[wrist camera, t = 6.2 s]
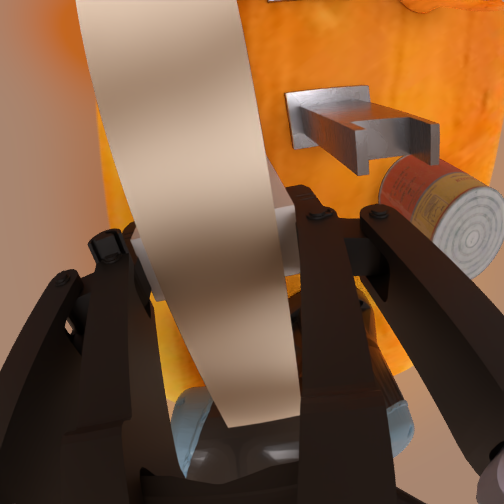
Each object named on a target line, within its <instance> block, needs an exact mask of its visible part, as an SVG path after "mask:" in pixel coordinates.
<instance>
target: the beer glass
mask: <svg viewBox="0 0 504 504" xmlns="http://www.w3.org/2000/svg"><path fill="white" fill-rule="evenodd" d="M400 2H401V3H402V4H403V5H404V6H406V7H407V8H408V9H410V10H412V11H414V12H417V13H427V12H430V11H432V10H434V9H436V8H439V7H447V8H454V9H461V10H468V11H500V10H504V0H400Z"/></svg>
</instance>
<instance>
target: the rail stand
mask: <svg viewBox="0 0 504 504" xmlns="http://www.w3.org/2000/svg"><path fill="white" fill-rule="evenodd" d="M281 1H295V0H267V2H268V3H270V2H281ZM284 94H285V100H286V106H287V112H288V119H289V125H290V132H291V139H292V146H293V149H294V150H295V149H301V148H308V147H314V146H321V147H322V148H323V149H325V150H326V151H327V152H328V153H330V154H331V155H332V156H334V157H335V158H336V159H337V160H339V161H340V162H341V163H343V164H344V165H345V166H346V167H348V168H349V169H350V170H351V171H352V172H354V173H355V174H356V175H357V176H361V175H367V174H369V161H368V160H372V159H380V158H387V157H395V156H404V155H412V156H414V157H416V158H418V159H419V160H421V161H423V162H425V163H427V164H428V165H430V166H432V165H439V144H440V129H439V124H438V123H435V122H433V121H430V120H427V119H424V118H421V117H418V116H415V115H412V114H409V113H405V112H402V111H399V110H395V109H392V108H389V107H385V106H382V105H378V104H374V103H370V95H369V86H367V85H360V86H345V87H333V88H322V89H313V90H304V91H296V92H288V93H284Z"/></svg>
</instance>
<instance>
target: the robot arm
mask: <svg viewBox="0 0 504 504" xmlns="http://www.w3.org/2000/svg"><path fill="white" fill-rule="evenodd" d="M266 160H267V166H268V172H269V178H270V184H271V190H272V196H273V203H274V209H275V215H276V222H277V228H278V235H279V241H280V248H281V254H282V261H283V268H284V275H285V276H290V275H294V274H299V273H300V279H301V292H299V293H297V294H296V295H294V296H293V297H291V298H290V299H289V300H288V303H289V310H290V317H291V325H292V332H293V340H294V347H295V355H296V363H297V371H298V379H299V387H300V396H301V401H300V415H298V416H293V417H289V418H284V419H279V420H273V421H268V422H262V423H257V424H250V425H244V426H237V427H230V428H228V426H227V425H226V423H225V421H224V419H223V417H222V415H221V414H220V412H219V410H218V408H217V406H216V404H215V402H214V400H213V398H212V397H211V395H210V393H209V391H208V389H207V387H206V386H204V387H193V388H189V389H187V390H185V391H184V392H183V393H182V394H181V395H180V396H179V397H178V399H177V401H176V404H175V407H174V410H173V414H172V418H171V424H170V419H169V413H168V407H167V401H166V395H165V389H164V383H163V376H162V370H161V363H160V355H159V348H158V340H157V332H156V323H155V314H154V307H153V305H152V303H151V301H150V299H149V298H150V293H151V291H152V293H153V296H154V298H155V300H156V302H158V301H163V300H166V299H165V297H164V295H163V292H162V290H161V288H160V285H159V283H158V280H157V278H156V275H155V273H154V271H153V268H152V266H151V263H150V261H149V258H148V255H147V253H146V250H145V248H144V245H143V243H142V240H141V237H140V235H139V232H138V229H137V227H136V224H135V221H134V222H131V223H130V224H129V225H128V226H127V227H126V228H125V229H124V230H123V232H122V233H121V230H120V229H109V230H106V231H103V232H101V233H99V234H97V235H96V236H94V237H93V238H92V239H91V240H90V241H89V242H88V247H89V249H90V251H91V253H92V255H93V258H94V260H95V262H96V268H95V272H94V273H92V274H89V275H87V276H85V277H82V278H80V276H79V274H78V272H77V271H76V270H74V269H70V270H66V271H62V272H61V273H58V274H57V275H56V276H55V277H54V278H53V279H52V280H51V282H50V283H49V284H48V286H47V288H46V289H45V291H44V292H43V294H42V296H41V297H40V299H39V300H38V302H37V304H36V306H35V307H34V309H33V311H32V312H31V314H30V316H29V318H28V319H27V321H26V323H25V325H24V326H23V328H22V330H21V332H20V334H19V336H18V337H17V339H16V341H15V343H14V345H13V347H12V349H11V351H10V353H9V355H8V357H7V359H6V361H5V363H4V365H3V367H2V369H1V371H0V504H426V503H424V502H422V501H420V500H419V499H417V498H415V497H413V496H412V495H410V494H408V493H406V492H404V491H403V490H401V489H399V488H398V487H396V482H395V472H394V464H393V458H394V457H396V456H397V455H398V454H399V453H401V452H402V451H403V450H404V449H405V448H406V446H407V445H408V444H409V443H410V441H411V440H412V438H413V435H414V423H413V420H412V417H411V414H410V412H409V409H408V403H407V401H406V400H404V398H403V396H402V394H401V391H400V390H399V387H398V385H397V383H396V381H395V379H394V377H393V375H392V373H391V371H390V369H389V367H388V365H387V363H386V361H385V359H384V357H383V355H382V353H381V351H380V349H379V347H378V345H377V339H376V328H375V318H374V312H373V309H372V307H371V305H370V303H369V301H368V299H367V298H366V296H365V295H364V294H363V292H361V291H360V290H359V289H358V288H356V286H355V281H354V277H353V276H359V277H360V280H361V282H362V283H363V285H364V286H365V288H366V289H367V291H368V292H369V294H370V295H371V297H372V298H373V300H374V302H375V303H376V305H377V306H378V308H379V309H380V311H381V312H382V314H383V316H384V317H385V319H386V320H387V322H388V324H389V325H390V327H391V328H392V330H393V332H394V333H395V335H396V336H397V338H398V340H399V341H400V343H401V345H402V346H403V348H404V349H405V351H406V353H407V354H408V356H409V358H410V360H411V361H412V363H413V365H414V366H415V368H416V370H417V371H418V373H419V375H420V377H421V378H422V380H423V382H424V383H425V385H426V387H427V389H428V391H429V392H430V394H431V396H432V398H433V399H434V401H435V403H436V405H437V407H438V408H439V410H440V412H441V414H442V416H443V418H444V420H445V421H446V423H447V425H448V427H449V429H450V431H451V433H452V435H453V437H454V439H455V440H456V443H457V444H458V446H459V448H460V449H461V451H462V453H463V455H464V456H465V458H466V460H467V461H468V462H469V464H470V465H471V466H472V468H473V469H474V470H475V472H476V473H477V474H478V475H479V476H480V479H479V482H478V486H477V495H476V499H477V502H478V504H504V315H503V314H502V313H501V312H500V311H499V309H498V308H497V307H496V306H495V305H494V304H493V303H492V302H491V301H490V299H488V297H487V296H486V295H485V294H484V293H483V292H482V291H481V290H480V289H479V288H478V287H477V286H476V285H475V283H474V282H472V280H471V279H470V278H469V277H468V276H467V275H466V274H465V273H464V272H463V271H462V270H461V269H460V268H459V267H458V266H457V265H456V264H455V263H454V262H453V261H452V260H451V259H450V258H449V257H448V256H447V255H446V254H444V253H443V252H442V251H441V250H440V249H439V248H438V247H437V246H436V245H435V244H434V243H433V242H432V241H431V240H430V239H429V238H427V237H426V236H425V235H424V234H423V233H422V232H421V231H420V230H419V229H418V228H416V227H415V226H414V225H413V224H412V223H411V222H410V221H408V220H407V219H406V218H405V217H404V216H403V215H402V214H400V213H399V212H398V211H397V210H396V209H394V208H392V207H390V206H387V205H384V204H381V205H380V204H375V205H369V206H366V207H364V208H363V209H361V211H360V219H344V218H338V216H337V213H336V211H335V210H334V209H332V208H330V207H325V206H323V205H322V204H321V203H320V201H319V200H318V198H316V196H315V194H313V192H312V190H311V189H310V188H309V187H306V186H304V185H297V186H291V187H286V188H285V187H284V186H283V184H282V182H281V180H280V178H279V177H278V175H277V173H276V171H275V170H274V168H273V166H272V164H271V163H270V161H269V159H268V157H267V156H266ZM66 320H67V321H68V323H69V324H70V326H71V327H72V329H73V330H72V333H71V334H69V333H68V332H67V330H66V328H65V323H66Z"/></svg>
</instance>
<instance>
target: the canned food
mask: <svg viewBox="0 0 504 504" xmlns="http://www.w3.org/2000/svg"><path fill="white" fill-rule="evenodd" d="M379 204H380V205H381V204H384V205H387V206H390V207H392V208H394V209H396V210H397V211H398V212H399V213H400V214H402V215H403V216H404V217H405V218H406V219H407V220H408V221H410V222H411V223H412V224H413V225H414V226H415V227H416V228H418V229H419V230H420V231H421V232H422V233H423V234H424V235H425V236H426V237H427V238H429V239H430V240H431V241H432V242H433V243H434V244H435V245H436V246H437V247H438V248H439V249H440V250H441V251H442V252H443V253H444V254H446V255H447V256H448V257H449V258H450V259H451V260H452V261H453V262H454V263H455V264H456V265H457V266H458V267H459V268H460V269H461V270H462V271H463V272H464V273H465V274H466V275H467V276H468V277H469V278H470V279H473V278H475V277H476V276H477V275H479V274H480V273H481V272H482V271H483V270H484V269H485V268H486V267H487V266H488V265H489V264H490V263H491V262H492V260H493V259H494V258H495V256H496V254H497V253H498V251H499V249H500V247H501V245H502V243H503V240H504V198H503V197H502V195H501V194H500V193H499V192H498V191H497V190H495V189H493V188H491V187H489V186H487V185H485V184H484V183H482V182H480V181H479V180H477V179H475V178H474V177H472V176H470V175H469V174H467V173H465V172H463V171H462V170H460V169H458V168H456V167H454V166H453V165H451V164H449V163H447V162H445V161H443V160H441V159H439V165H432V166H430V165H428V164H427V163H425V162H423V161H421V160H419V159H418V158H416V157H414V156H412V155H405V156H403V157H401V158H400V159H398V160H397V161H396V162H395V163H394V164H393V165H392V166H391V167H390V169H389V170H388V171H387V173H386V175H385V177H384V179H383V181H382V184H381V187H380V191H379Z"/></svg>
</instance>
